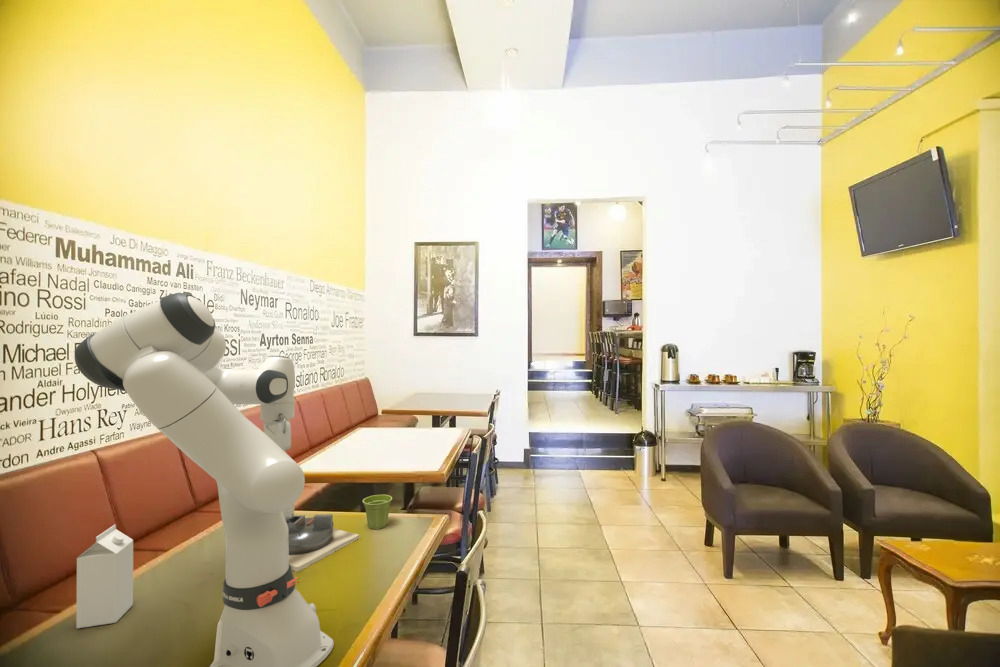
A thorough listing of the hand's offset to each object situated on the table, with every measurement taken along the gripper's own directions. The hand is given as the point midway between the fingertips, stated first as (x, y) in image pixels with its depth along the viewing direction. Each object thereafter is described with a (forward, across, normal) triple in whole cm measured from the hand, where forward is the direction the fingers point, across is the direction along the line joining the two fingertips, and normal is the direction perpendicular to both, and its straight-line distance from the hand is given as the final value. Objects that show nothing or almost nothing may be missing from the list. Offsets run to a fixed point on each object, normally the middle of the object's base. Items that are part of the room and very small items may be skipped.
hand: (277, 460), depth 127 cm
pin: (+21, +4, -4) cm, 22 cm away
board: (+27, +1, -8) cm, 28 cm away
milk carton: (+28, -8, +35) cm, 46 cm away
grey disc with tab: (+25, +1, -8) cm, 26 cm away
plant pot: (+26, +2, -31) cm, 41 cm away
